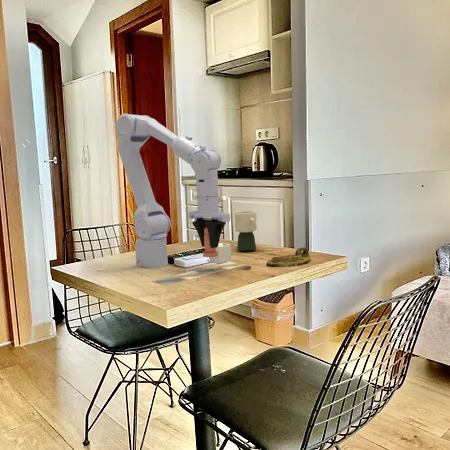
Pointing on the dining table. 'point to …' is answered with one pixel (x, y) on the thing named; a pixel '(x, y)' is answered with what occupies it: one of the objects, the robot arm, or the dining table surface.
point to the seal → (291, 259)
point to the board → (207, 270)
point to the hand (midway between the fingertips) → (209, 246)
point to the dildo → (208, 246)
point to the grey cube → (222, 253)
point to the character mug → (245, 229)
